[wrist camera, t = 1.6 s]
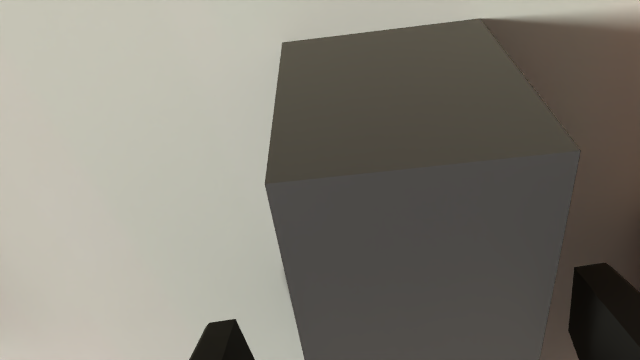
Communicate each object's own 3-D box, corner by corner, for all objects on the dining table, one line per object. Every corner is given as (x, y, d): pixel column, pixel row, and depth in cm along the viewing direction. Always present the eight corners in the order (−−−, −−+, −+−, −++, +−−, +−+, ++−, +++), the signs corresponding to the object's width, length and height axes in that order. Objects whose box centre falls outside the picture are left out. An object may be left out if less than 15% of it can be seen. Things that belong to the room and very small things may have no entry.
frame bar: (457, 396, 16) (498, 567, 13) (344, 405, 17) (353, 575, 13) (476, 14, 9) (580, 150, 6) (282, 37, 10) (264, 184, 6)
